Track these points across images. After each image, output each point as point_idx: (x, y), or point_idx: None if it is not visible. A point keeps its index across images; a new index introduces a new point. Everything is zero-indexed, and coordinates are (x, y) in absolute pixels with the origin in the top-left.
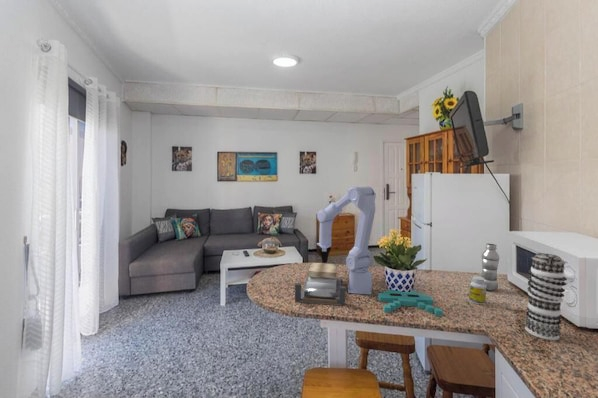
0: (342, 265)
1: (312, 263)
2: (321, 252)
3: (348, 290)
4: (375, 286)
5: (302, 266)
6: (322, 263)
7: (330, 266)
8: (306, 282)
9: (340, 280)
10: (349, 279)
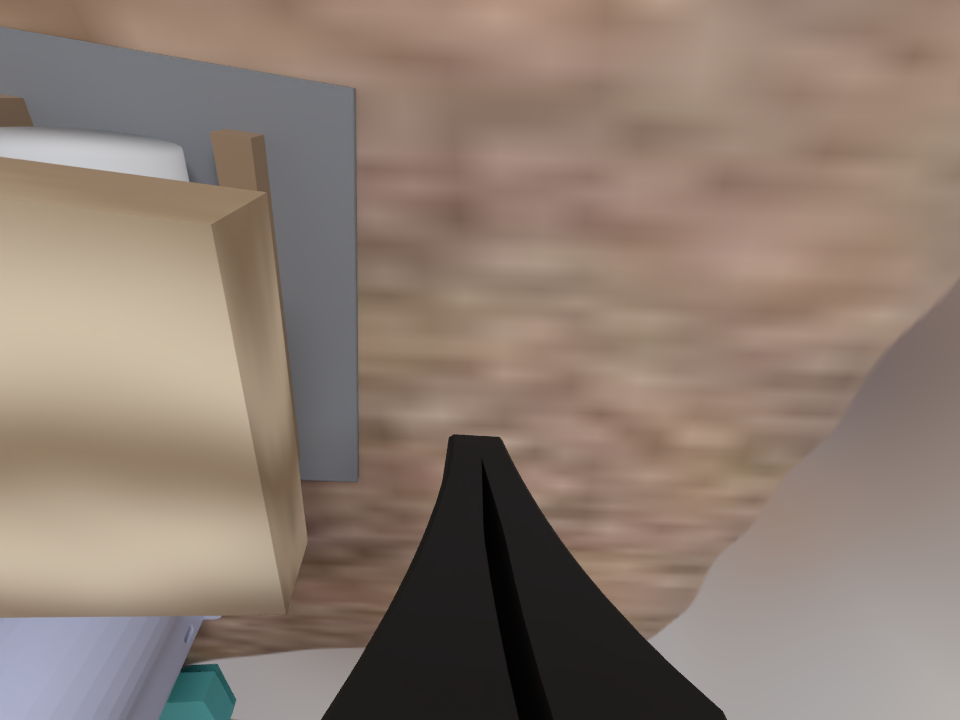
0: (749, 500)
1: (151, 256)
2: (360, 675)
3: None
4: (269, 629)
5: (923, 10)
6: (255, 461)
7: (119, 559)
8: (26, 62)
9: (300, 477)
10: (3, 618)
